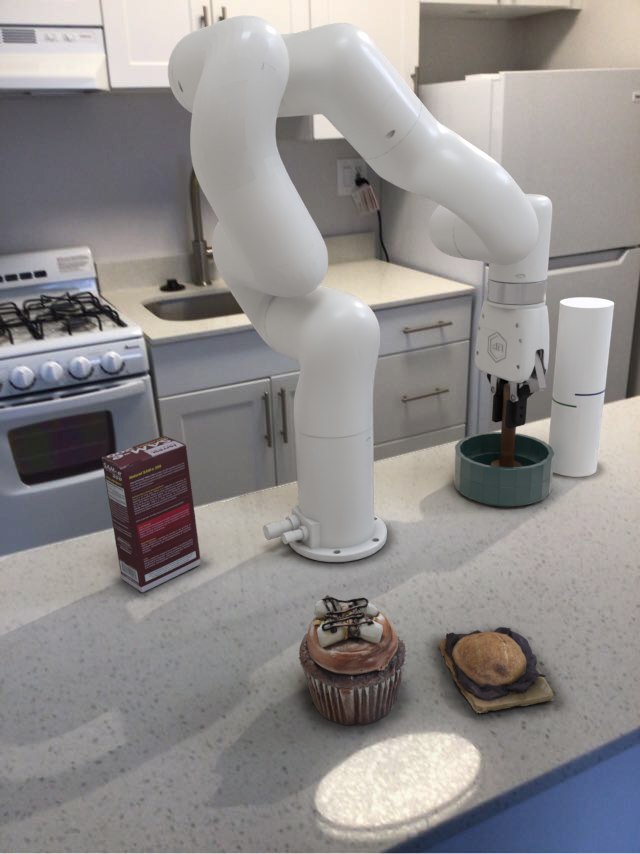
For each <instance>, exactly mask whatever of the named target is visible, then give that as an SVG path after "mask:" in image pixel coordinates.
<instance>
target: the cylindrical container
mask: <svg viewBox="0 0 640 854" xmlns="http://www.w3.org/2000/svg"><path fill="white" fill-rule="evenodd" d="M614 308H615V302H614V301H612V300H609V299H605V298H600V297H588V296H587V297H586V296H579V297H578V296H577V297H568V298H564V299H561V300H560V301H559V308H558V309H559V310H558V320H557V322H558V323H557V332H556V333H557V334H556V346H555V357H554V371H553V385H552V395H551V409H550V420H549V421H550V422H549V434H548V445H549V446H551V447H552V449H553V452H554V463H553V474H554V473H555V474H557V475H559V476H560V475H561V476H564V477H571V478H572V477H573V478H583V477H589V476H592V475H594V474H595V473H596V472H597V469H598V460H599V459H598V458H599V450H600V440H601V431H602V423H603V412H604V405H605V404H604V403H605V393H606V385H607V376H608V365H609V356H610V347H611V338H612V329H613V318H614Z"/></svg>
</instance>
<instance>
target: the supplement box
mask: <svg viewBox="0 0 640 854" xmlns="http://www.w3.org/2000/svg"><path fill="white" fill-rule="evenodd" d="M187 450H188V449H187V445H186V443H183V442H181V441H179V440H176V439H175V438H171V437H169V436H166V435H163V436H159V437H157V438H153V439H151V440H147V441H145V442H142V443H140V444H137V445H134V446H130V447H127V448H125V449H122V450H119V451H117V452H114V453H110V454H108V455H104V456H102V457H101V461H102V468H103V474H104V479H105V486H106V492H107V499H108V505H109V510H110V516H111V522H112V528H113V535H114V541H115V548H116V554H117V558H118V559H117V560H118V567H119V571H120V577H121V580H123V581H124V582H126V583H127V584H128V585H130V586H131V587H133V588H134V589H136V590H137V591H139V592H140V593H145V592H147V591H149V590H151V589H153V588H155V587H157V586H159V585H161V584H163V583H165V582H167V581H170V580H171V579H173V578H175V577H177V576H179V575H181V574H183V573H185V572H187V571H189V570H191V569H193V568H197V567H198V566H200V565H201V563H202V561H201V553H200V545H199V537H198V527H197V521H196V512H195V505H194V497H193V489H192V482H191V473H190V466H189V457H188V451H187Z"/></svg>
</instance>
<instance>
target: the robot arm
mask: <svg viewBox="0 0 640 854" xmlns="http://www.w3.org/2000/svg"><path fill="white" fill-rule="evenodd" d="M167 79H168V83H169V87H170V89H171V93H172V94H173V96H174V98H175V99H176V101H177V102H178V103H179V104H180V105H181V107H182V108H184V109H185V110H186V111H188V112H189V113H190V114H191V120H190V131H189V132H190V133H189V134H190V135H189V147H190V149H189V150H190V159H191V163H192V164H191V165H192V168H193V171H194V174H195V178H196V180H197V182H198V185H199V187H200V188H201V191H202V193H203V194H204V196H205V199H206V200H207V202H208V204H209V205H210V207H211V209H212V211H213V212H214V214H215V216H216V218H217V220H218V222H217V223H216V224H215V227H214V230H213V233H212V239H211V251H212V257H213V261H214V264H215V267H216V269H217V271H218V273H219V275H220V277H221V278H222V280H223V282H224V283H225V285H226V287H227V288H228V290H229V291H230V293H231V295H232V296H233V298H234V299H235V301H236V303H237V304H238V305H239V307H240V308H241V310H242V312H243V313H244V314H245V316H246V317H247V319H248V321H249V322H250V324H251V325H252V326H253V328H254V330H255V331H256V333H257V334H258V335H259V337H260V338H261V339H262V340H263V342H264V343H265V344H266V345H267V346H268V347H269V348H270V349H272V350H273V351H275V352H276V353H278V354H280V355H281V356H283V357H286V358H288V359H290V360H292V361H294V362H296V363H298V364H299V375H298V376H299V377H298V380H297V383H296V387H295V390H294V397H293V409H292V410H293V428H294V445H295V463H296V464H295V465H296V479H297V480H296V482H297V483H296V484H297V501H298V502H297V503H298V504H297V505H292V506H291V507H290V510H291V511H290V513H291V515H287V516H285V519H283V520H280V521H274V522H269V523H267V524H264V525H263V526H262V532H263V535H264V537H265V539H266V540H267V541H271V540H274V539H279V538H281V541H282V543H283V544H284V545H287V544H288V545H289V546H290V547H291V548H292V550H294V551H295V552H296V553H297V554H299V555H301V556H303V557H305V558H308V559H310V560H315V561H319V562H327V563H346V562H347V563H348V562H352V561H353V562H354V561H358V560H361V559H364V558H367V557H370V556H371V555H373V554H375V553H377V552H378V551H380V550H381V549H382V548H383V547H384V545H385V544H386V542H387V539H388V529H387V526H386V523H385V522H384V520H382V519H381V518H380V517H379V516H377V515H376V514H375V467H374V466H375V465H374V464H375V463H374V462H375V458H374V456H375V454H374V453H375V451H374V388H375V376H376V371H377V365H378V359H379V356H380V355H379V354H380V349H381V341H382V340H381V338H382V337H381V328H380V323H379V320H378V318H377V316H376V314H375V312H374V311H373V310H372V308H371V307H370V306H369V305H368V304H367V303H366V302H365V301H363V299H361V298H359V297H357V296H356V295H354V294H352V293H349V292H347V291H343V290H340V289H336V288H334V287H330V286H326V285H325V286H324V285H322V283H323V281H324V280H325V278H326V276H327V273H328V268H329V254H328V253H329V252H328V247H327V245H326V242H325V240H324V238H323V236H322V234H321V232H320V230H319V228H318V226H317V224H316V222H315V221H314V219H313V217H312V216H311V213H310V212H309V210H308V208H307V206H306V205H305V203H304V201H303V200H302V197H301V195H300V194H299V193H298V190H297V188H296V186H295V185H294V183H293V181H292V179H291V177H290V175H289V173H288V171H287V169H286V166H285V164H284V162H283V161H282V158H281V155H280V152H279V149H278V145H277V137H276V132H277V131H276V130H277V129H276V127H277V120H278V118H287V117H289V118H290V117H301V116H315V115H322V116H323V117H324V118H325V119H326V120H327V121H328V122H329V123H330V124H331V125H332V126H333V127H334V128H335V129H336V131H337V132H338V133H340V135H341V136H342V137H343V138H344V139H345V140H346V141H347V142H348V144H350V146H351V147H353V149H354V150H355V151H356V152H357V153H358V154H359V155H360V157H361V158H362V159H363V160H364V161H365V162H366V163H367V165H369V167H370V168H371V169H372V170H373V172H375V174H376V175H378V176H379V177H380V178H381V179H383V180H385V181H387V182H388V183H391V184H392V185H393V186H396V187H398V188H399V189H402V190H404V191H407V192H409V193H413V194H415V195H417V196H420V197H424V198H425V199H428V200H430V201H432V202H434V203H436V204H438V206H437V207H436V208H435V209H434V210H433V212H432V214H431V216H430V219H429V222H428V234H429V238H430V240H431V242H432V244H433V245H434V247H435V248H436V249H437V250H439V251H440V252H441V253H442V254H445V255H447V256H450V257H451V258H452V257H453V258H457V259H463V260H468V261H469V260H470V261H477V262H483V263H488V273H487V282H486V284H487V293H486V294H487V295H486V296H487V297H486V299H484V300H483V302H482V306H481V310H480V314H479V319H478V324H477V330H476V331H477V332H476V340H475V341H476V342H475V353H474V354H475V355H474V362H475V364H474V365H475V366H476V368H477V369H479V371H481V372H482V374H483V375H484V376H486V378H487V381H488V382H489V388H490V389H489V390H490V394H492V395H493V396H492V409H491V411H492V412H491V421H492V422H493V423H500V422H502V408H503V391H504V384H507V383H511V386H510V400H507V402H506V416H505V427H507V428H509V429H510V428H514V427H516V428H517V427H521V426H525V424H526V423H527V422H526V419H527V406H528V400H529V399H531V398H532V395H533V394H534V393H537V392H542V391H545V390H547V387H548V386H547V381H546V376H547V373H548V369H549V361H550V359H549V358H550V321H549V311H548V305H546V301H547V288H548V273H549V262H550V261H549V260H550V247H551V234H552V222H553V202H552V201H551V198H549V197H548V196H546V195H544V194H538V193H537V194H536V193H525V192H524V191H523V190H522V189H521V187H520V186H519V184H518V183H517V182H516V180H515V179H514V178H513V177H512V175H510V173H509V172H508V170H506V169H505V168H504V167H503V166H502V165H501V164H500V163H498V162H497V161H496V160H495V159H494V158H492V157H491V156H490V155H489V154H488V153H486V152H484V151H483V150H481V149H480V148H478V147H477V146H475V145H474V144H472V143H470V142H469V141H468V140H466V139H465V138H464V137H462V136H461V135H460V134H458V133H457V132H455V131H454V130H452V129H451V128H449V127H447V126H446V125H444V124H442V123H441V122H440V121H439V120H437V118H435V117H434V116H433V114H432V113H431V112H430V111H429V109H428V108H427V107H426V106H425V104H424V103H423V102H422V101H421V99H420V98H419V97H418V96H417V94H416V93H415V92H414V91H413V90H412V88H411V87H410V86H409V84H408V83H407V82H406V81H405V80H404V78H403V77H402V76H401V74H400V72H398V70H397V69H396V68H395V66H394V65H393V64H392V63H391V62H390V60H389V59H388V58H387V57H386V56H385V54H384V53H383V52H382V50H381V49H380V47H379V46H378V45H377V44H376V43H375V41H374V40H373V39H372V38H371V37H370V35H368V34H367V33H366V32H365V31H364V30H363V29H361V28H360V27H358V26H356V25H354V24H352V23H347V22H334V23H328V24H324V25H321V26H316V27H313V28H309V29H307V30H303V31H297V32H292V33H291V32H289V33H281V32H280V31H279V30H278V29H277V28H276V27H275V25H273V24H272V23H271V22H269V21H268V20H267V19H264V18H262V17H260V16H255V15H236V16H231V17H228V18H225V19H222V20H220V21H216V22H214V23H211V24H210V25H207V26H204V27H202V28H199V29H197V30H194V31H192V32H189V33H188V34H186V35H184V36H183V37H182V38H180V40H179V41H178V42H177V43H176V45H175V46H174V48H173V49H172V51H171V53H170V56H169V58H168V64H167ZM521 384H522V385H521ZM520 385H521V386H520Z"/></svg>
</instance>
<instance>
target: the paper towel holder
mask: <svg viewBox="0 0 640 854" xmlns="http://www.w3.org/2000/svg"><path fill="white" fill-rule="evenodd" d="M510 386H511V383H507V384H504V391H503V408H502V421H501V427H500V429H501V430H500V432H501V443H500V459H499V460H495V461H493V462H492V463H491V466H497V467H522V465H521V464H520V463H519V462H517V461H514V451H515V436H516V433H517V427H514V428H510V429H509V428H507V427H505V416H506V402H507V400H510Z"/></svg>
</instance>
